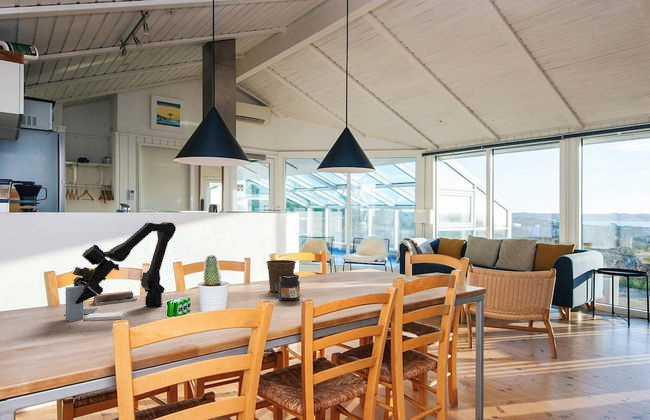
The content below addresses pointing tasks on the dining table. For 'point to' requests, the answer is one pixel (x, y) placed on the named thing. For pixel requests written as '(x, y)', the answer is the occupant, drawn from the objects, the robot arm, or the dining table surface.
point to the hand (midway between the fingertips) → (72, 301)
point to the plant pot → (278, 271)
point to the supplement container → (289, 287)
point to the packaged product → (114, 298)
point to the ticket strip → (104, 316)
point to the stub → (73, 303)
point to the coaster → (87, 311)
